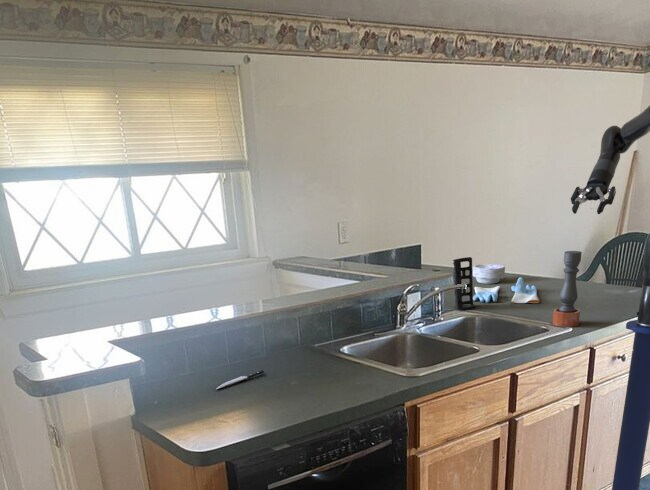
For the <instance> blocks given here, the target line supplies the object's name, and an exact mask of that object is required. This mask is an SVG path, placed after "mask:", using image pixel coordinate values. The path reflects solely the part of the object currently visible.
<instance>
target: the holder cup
mask: <svg viewBox="0 0 650 490" xmlns="http://www.w3.org/2000/svg"><path fill="white" fill-rule="evenodd" d="M559 308H560V307H557V308H554V309H553V315H552V325H554V326H557V327H562V328H572V327H578V326H579V325H580V317H581V310H580V309H579V308H575V309H576V310H575V311H574V312H573V313H563V312H560V311H559Z"/></svg>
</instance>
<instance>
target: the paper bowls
mask: <svg viewBox="0 0 650 490" xmlns="http://www.w3.org/2000/svg"><path fill="white" fill-rule="evenodd" d="M505 271H506V266H505V265H503V264H495V263H479V264H474V265H472V277H474V278H475V280H476V282H477V283H479V284H481V285H482V284H483V285H484V284H485V285H492V284H493V285H494V284H497V283H499V282H500V280H501V279H502V278H504V277H505V275H506V273H505Z"/></svg>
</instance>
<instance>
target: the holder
mask: <svg viewBox="0 0 650 490" xmlns="http://www.w3.org/2000/svg"><path fill="white" fill-rule="evenodd" d="M452 261H453V262H452V264H453V282H454V286H455V285H457V284H462V280H469V283H465V284H466V285H467V287H466V289H463V288H462V289H455V288H454V300H455V301H454V303H455V305H454V306H455V307H454V308H455V309H457V311H463V310H468V309H471V308H475V304H474V300H473V296H474V293H473V292H474V290H473V289H474V288H473V285H474V284H473V283H474V282H473V281H474V280H473V257H471V256H468V257H460V258H456V259H452ZM464 262H468V266H463V267H462V263H464ZM466 271H468V272H469V274H467V273H466ZM466 274H467V275H466ZM462 285H463V284H462ZM467 288H469V291H468V292H467ZM468 296H469V300H463V297H468Z"/></svg>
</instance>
